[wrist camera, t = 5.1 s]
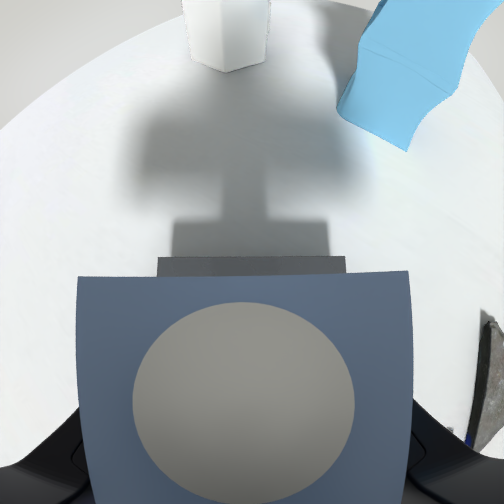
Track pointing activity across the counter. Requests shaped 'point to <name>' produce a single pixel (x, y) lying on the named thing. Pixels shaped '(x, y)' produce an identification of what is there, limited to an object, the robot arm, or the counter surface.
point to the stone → (488, 389)
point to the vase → (410, 63)
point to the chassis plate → (249, 266)
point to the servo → (246, 388)
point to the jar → (227, 32)
